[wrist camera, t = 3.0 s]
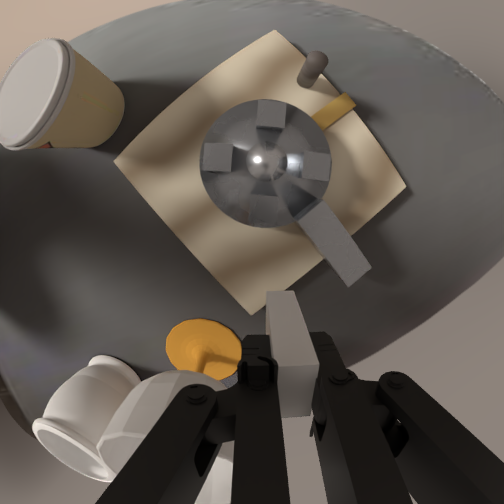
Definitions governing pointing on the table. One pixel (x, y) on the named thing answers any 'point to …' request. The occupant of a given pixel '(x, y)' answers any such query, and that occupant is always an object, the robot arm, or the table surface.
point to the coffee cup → (57, 100)
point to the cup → (165, 389)
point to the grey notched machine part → (277, 177)
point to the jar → (85, 414)
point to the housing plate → (202, 207)
